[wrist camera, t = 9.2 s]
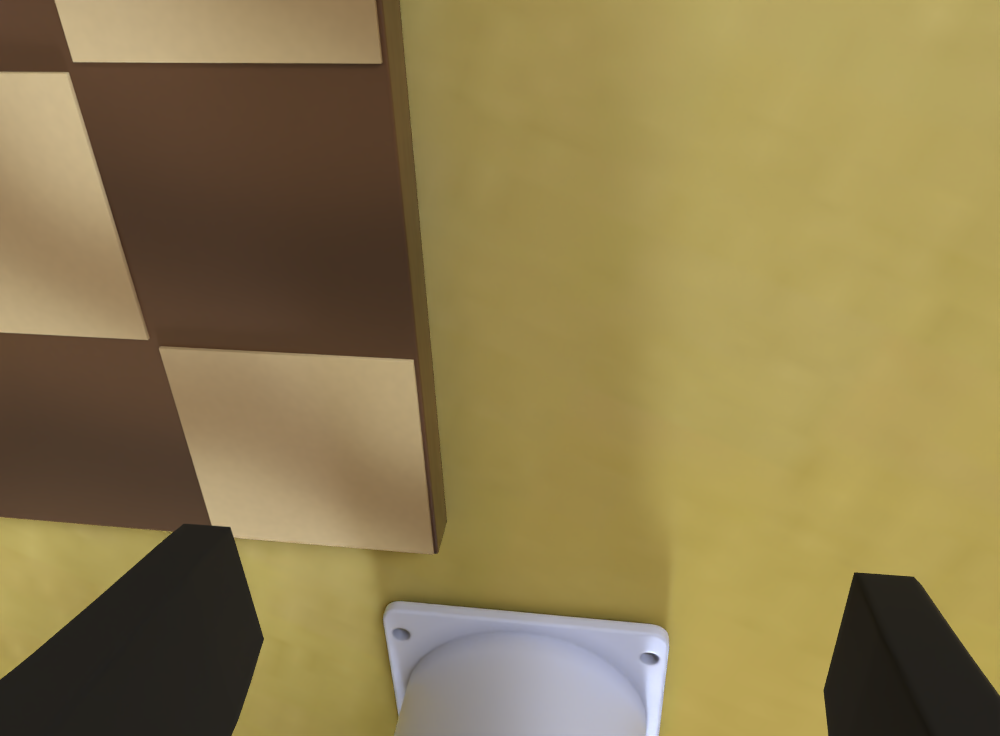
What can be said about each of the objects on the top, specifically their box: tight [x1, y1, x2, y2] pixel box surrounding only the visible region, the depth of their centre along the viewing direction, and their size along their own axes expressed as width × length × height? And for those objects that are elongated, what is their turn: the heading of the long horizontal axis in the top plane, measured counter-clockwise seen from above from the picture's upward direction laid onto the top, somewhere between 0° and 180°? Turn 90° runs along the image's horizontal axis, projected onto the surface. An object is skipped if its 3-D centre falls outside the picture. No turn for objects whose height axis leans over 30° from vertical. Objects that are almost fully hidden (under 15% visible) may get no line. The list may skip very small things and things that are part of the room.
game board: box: [0, 0, 447, 554], centre depth 18 cm, size 18×18×1 cm
